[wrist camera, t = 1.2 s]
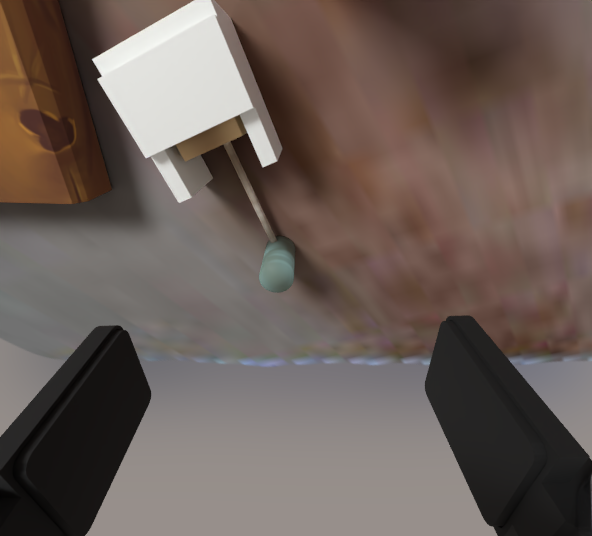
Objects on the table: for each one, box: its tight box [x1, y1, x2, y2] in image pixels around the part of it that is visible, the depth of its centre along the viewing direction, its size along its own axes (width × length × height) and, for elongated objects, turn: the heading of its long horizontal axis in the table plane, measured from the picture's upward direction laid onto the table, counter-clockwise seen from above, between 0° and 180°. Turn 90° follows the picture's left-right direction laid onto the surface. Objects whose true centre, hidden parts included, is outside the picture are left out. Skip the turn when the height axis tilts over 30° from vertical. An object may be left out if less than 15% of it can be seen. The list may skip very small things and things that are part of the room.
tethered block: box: [176, 115, 295, 292], centre depth 27 cm, size 5×19×6 cm, turn 22°
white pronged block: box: [92, 0, 282, 203], centre depth 23 cm, size 9×10×7 cm
